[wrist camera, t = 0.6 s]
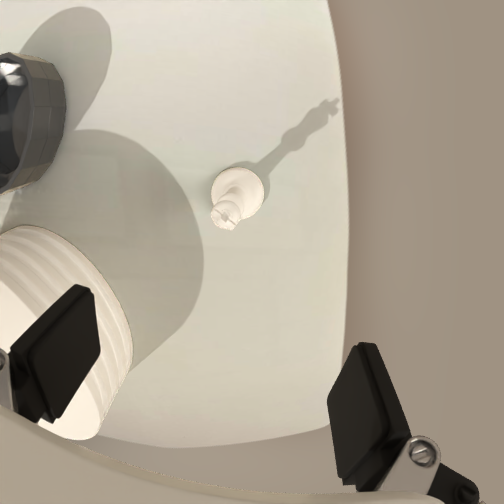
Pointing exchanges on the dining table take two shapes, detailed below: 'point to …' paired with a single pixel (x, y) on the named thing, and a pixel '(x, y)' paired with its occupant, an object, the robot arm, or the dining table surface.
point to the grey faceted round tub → (28, 119)
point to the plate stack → (42, 297)
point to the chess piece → (235, 196)
